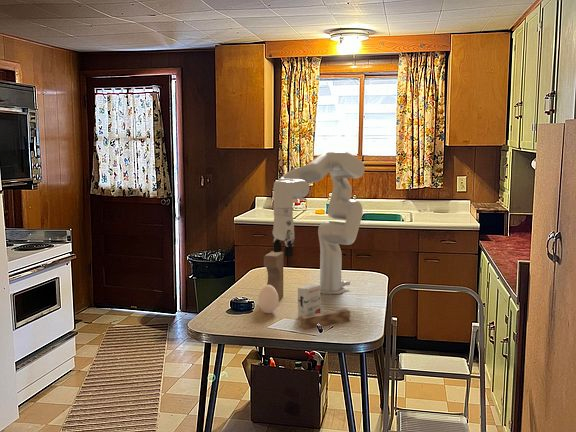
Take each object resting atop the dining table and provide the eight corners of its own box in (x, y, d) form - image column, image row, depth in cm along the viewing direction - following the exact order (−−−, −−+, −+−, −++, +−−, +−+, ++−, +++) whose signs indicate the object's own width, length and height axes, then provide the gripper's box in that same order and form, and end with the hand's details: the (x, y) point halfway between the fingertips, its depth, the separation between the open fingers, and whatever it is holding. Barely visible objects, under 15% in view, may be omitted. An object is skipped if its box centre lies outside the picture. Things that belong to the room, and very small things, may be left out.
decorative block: (276, 303, 251) (275, 256, 248) (263, 302, 253) (262, 255, 250) (284, 297, 262) (284, 251, 259) (271, 295, 263) (271, 250, 261)
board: (345, 318, 231) (345, 308, 230) (349, 320, 228) (349, 310, 228) (300, 326, 221) (300, 316, 220) (304, 329, 218) (304, 318, 218)
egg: (263, 317, 233) (263, 288, 231) (255, 311, 240) (254, 283, 238) (282, 314, 236) (282, 285, 235) (273, 309, 243) (273, 281, 242)
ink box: (310, 312, 239) (311, 283, 238) (320, 314, 236) (321, 285, 235) (297, 317, 233) (297, 287, 231) (307, 319, 230) (307, 289, 228)
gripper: (301, 213, 234) (301, 257, 236) (281, 208, 249) (281, 249, 251) (284, 214, 230) (284, 259, 232) (265, 209, 245) (265, 251, 248)
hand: (283, 254), depth 242 cm, fingers open, 9 cm apart
